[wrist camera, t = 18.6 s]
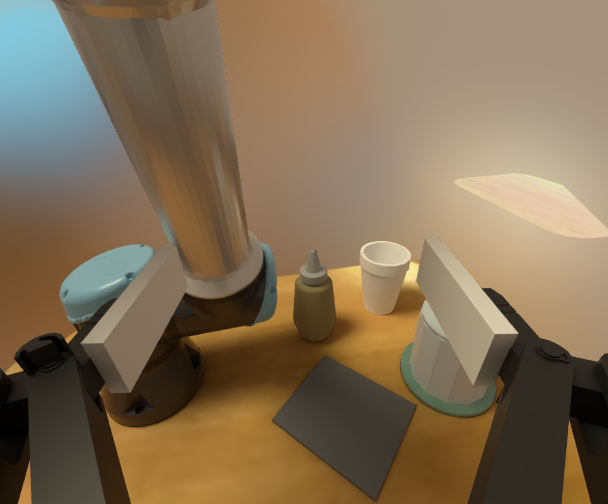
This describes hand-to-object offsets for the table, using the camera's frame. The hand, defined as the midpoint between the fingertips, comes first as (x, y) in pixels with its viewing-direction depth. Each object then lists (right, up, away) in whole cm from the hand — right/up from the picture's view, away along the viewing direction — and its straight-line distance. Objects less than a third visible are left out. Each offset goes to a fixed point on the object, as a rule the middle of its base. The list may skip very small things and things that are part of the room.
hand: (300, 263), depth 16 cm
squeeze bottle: (+2, -15, +42) cm, 44 cm away
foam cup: (+16, -11, +48) cm, 51 cm away
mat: (+6, -23, +27) cm, 36 cm away
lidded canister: (+23, -19, +32) cm, 43 cm away
